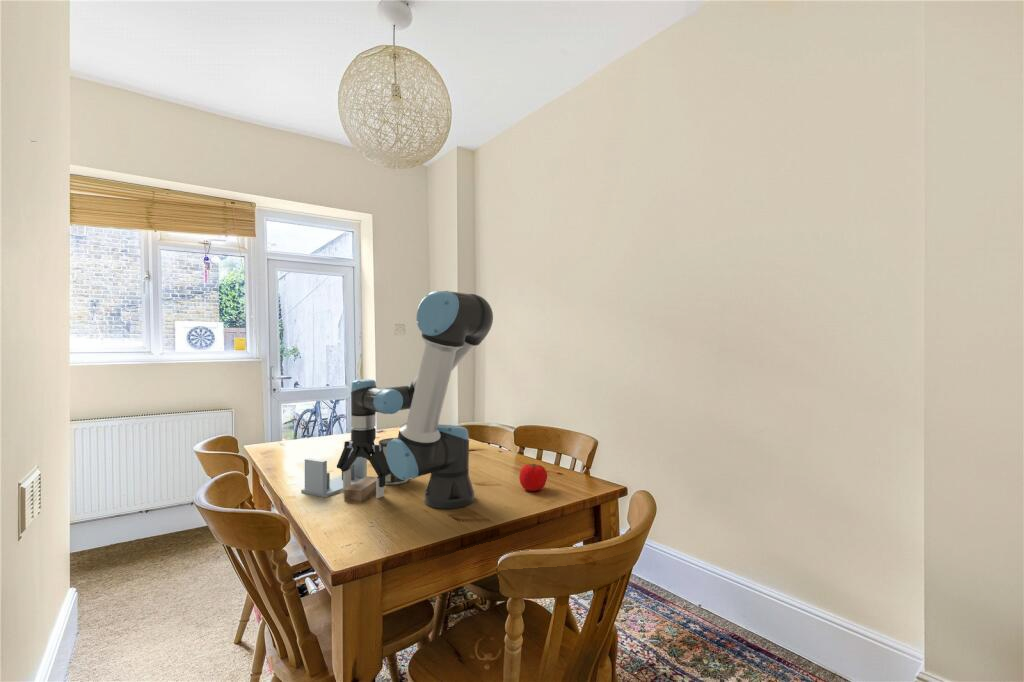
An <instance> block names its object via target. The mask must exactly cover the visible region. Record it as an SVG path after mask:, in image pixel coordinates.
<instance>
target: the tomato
mask: <svg viewBox="0 0 1024 682" xmlns="http://www.w3.org/2000/svg"><path fill="white" fill-rule="evenodd" d="M518 479H519V482H520V485H521V487H522V488H523V489H525V490H526V491H529V492H530V491H531V492H537V491H540V490H543V488H545V486H546V482H547V479H548V473H547V470H546V468H545V467H544V466H542V465H540V464H536V463H531V464H530V463H527V464H525V465H523V466H522V467H521V469H520V471H519V477H518Z"/></svg>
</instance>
